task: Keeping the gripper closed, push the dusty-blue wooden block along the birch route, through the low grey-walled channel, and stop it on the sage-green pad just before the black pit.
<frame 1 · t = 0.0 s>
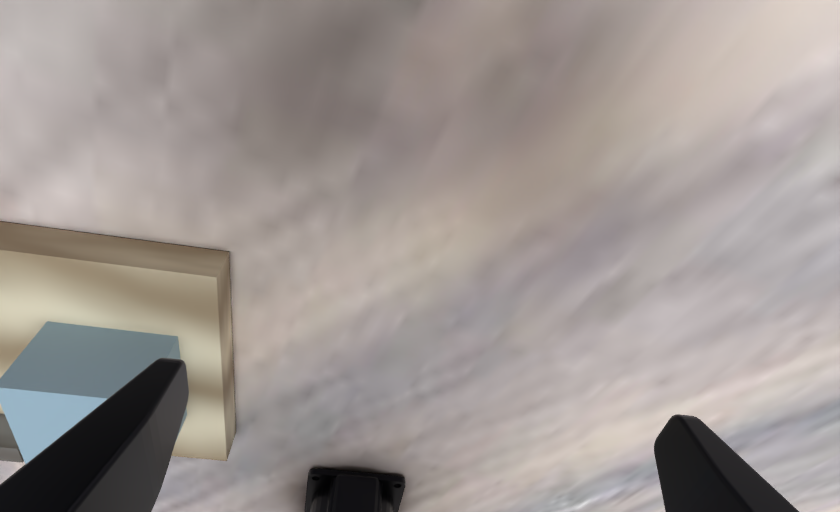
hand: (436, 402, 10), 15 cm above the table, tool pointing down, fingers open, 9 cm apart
blue block: (122, 371, 27), point 2 cm above the table, touching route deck
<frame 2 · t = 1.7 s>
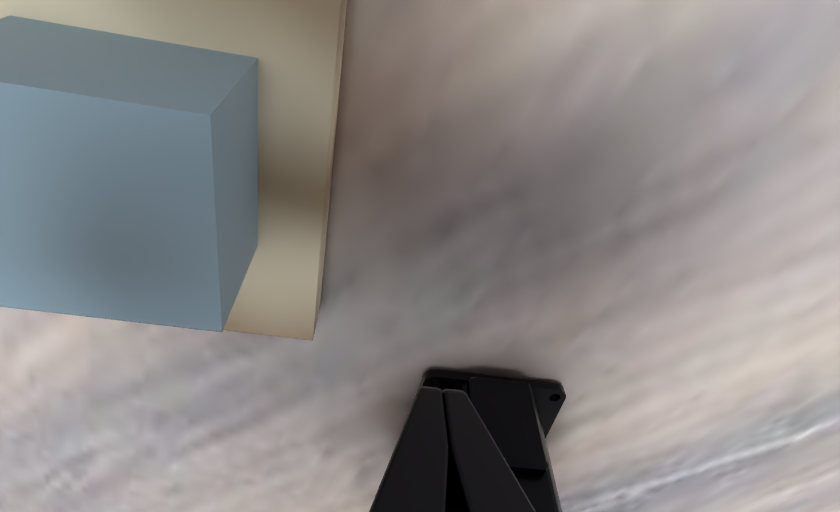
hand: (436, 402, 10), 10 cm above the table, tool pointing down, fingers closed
blue block: (150, 145, 15), point 2 cm above the table, touching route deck
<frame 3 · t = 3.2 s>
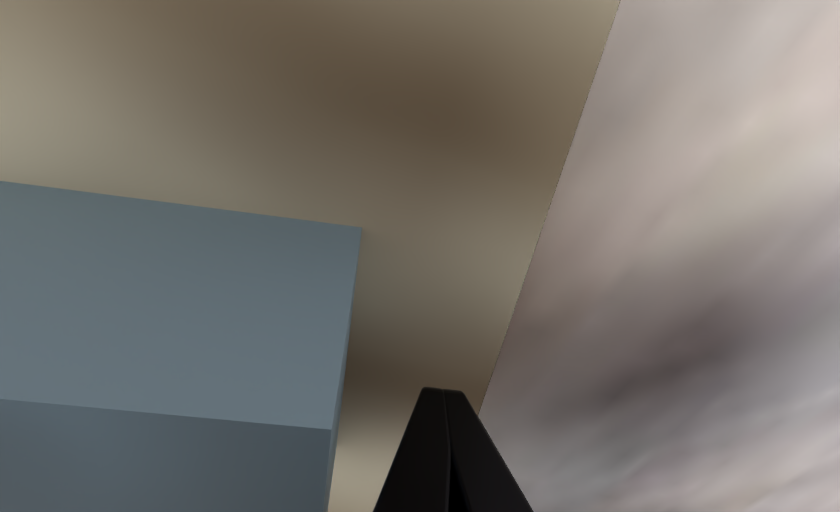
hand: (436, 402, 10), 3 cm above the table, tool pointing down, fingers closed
blue block: (191, 337, 10), point 2 cm above the table, touching gripper, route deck
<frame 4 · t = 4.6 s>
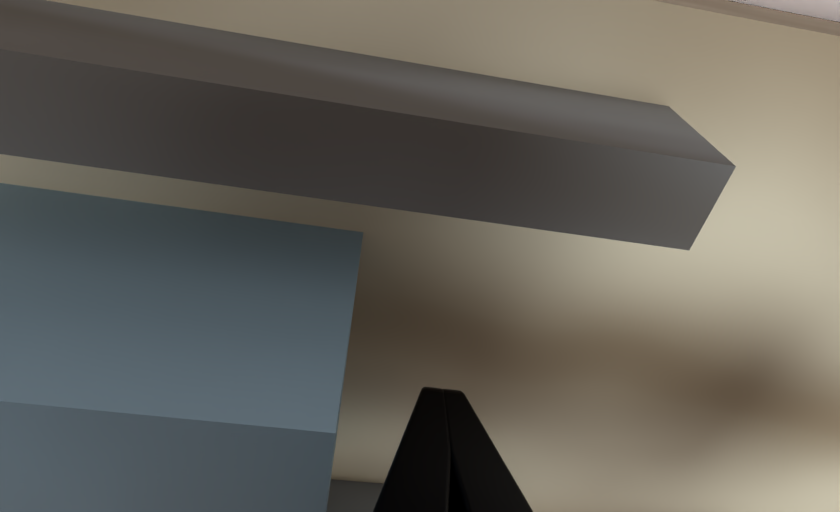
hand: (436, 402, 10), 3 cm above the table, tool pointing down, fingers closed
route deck: (39, 247, 12), on the table
blue block: (192, 339, 10), point 2 cm above the table, touching gripper, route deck
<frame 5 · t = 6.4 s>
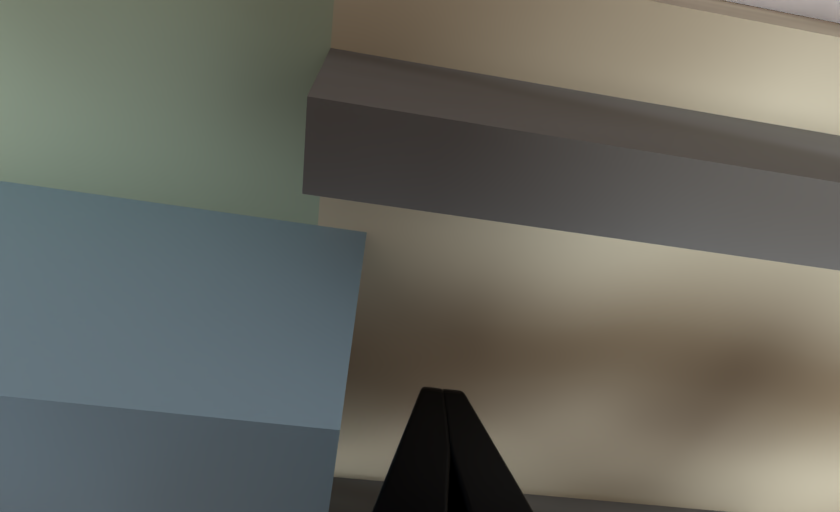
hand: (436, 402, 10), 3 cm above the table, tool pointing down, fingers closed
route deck: (366, 286, 12), on the table
blue block: (196, 337, 11), point 2 cm above the table, touching gripper, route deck
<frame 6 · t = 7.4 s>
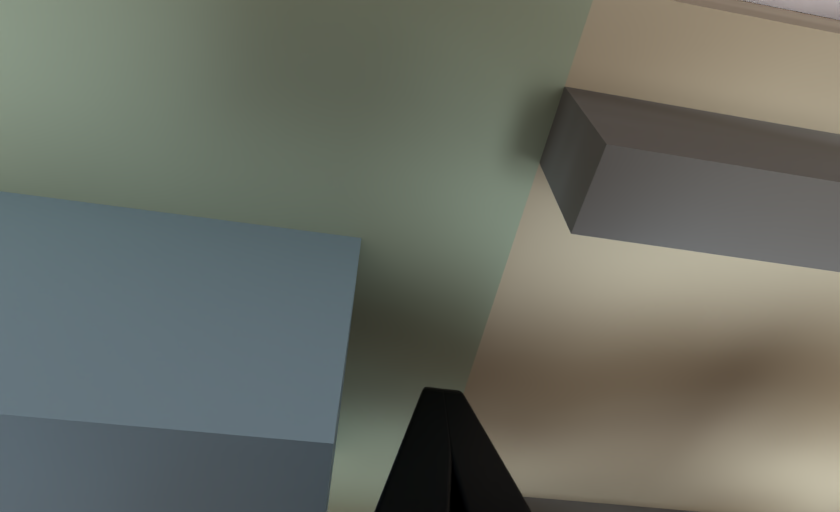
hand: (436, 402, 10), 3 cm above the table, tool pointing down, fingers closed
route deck: (506, 305, 13), on the table
blue block: (191, 345, 10), point 2 cm above the table, touching gripper, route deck
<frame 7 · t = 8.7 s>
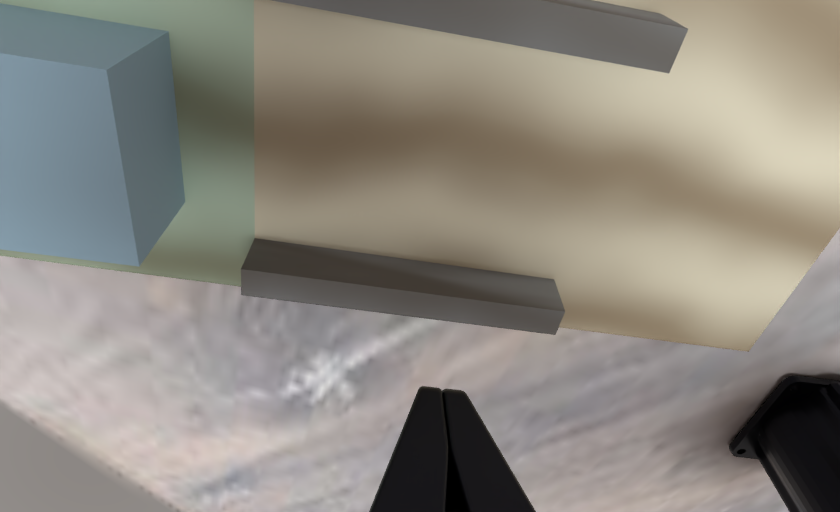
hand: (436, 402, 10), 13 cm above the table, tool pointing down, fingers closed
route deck: (295, 111, 20), on the table
blue block: (83, 110, 18), point 2 cm above the table, touching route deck
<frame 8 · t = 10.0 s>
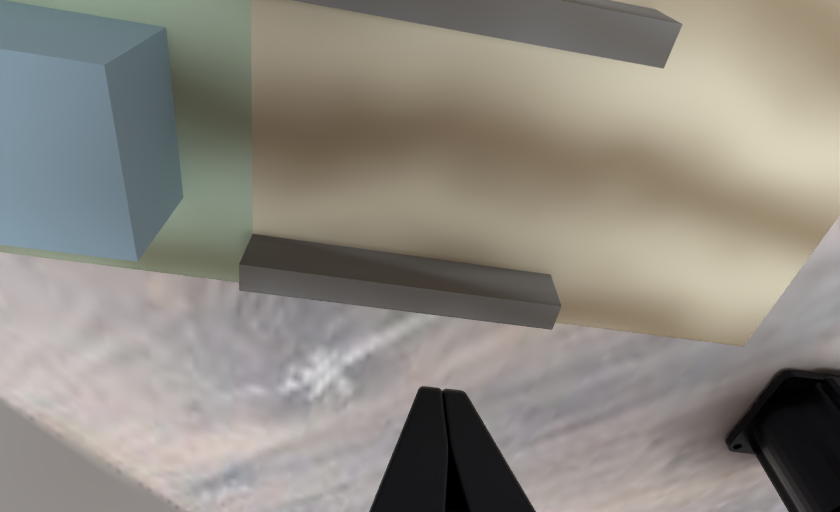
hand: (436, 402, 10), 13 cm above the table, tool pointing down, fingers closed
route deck: (292, 107, 20), on the table
blue block: (81, 106, 18), point 2 cm above the table, touching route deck
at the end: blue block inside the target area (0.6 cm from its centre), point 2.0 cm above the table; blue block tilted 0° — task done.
